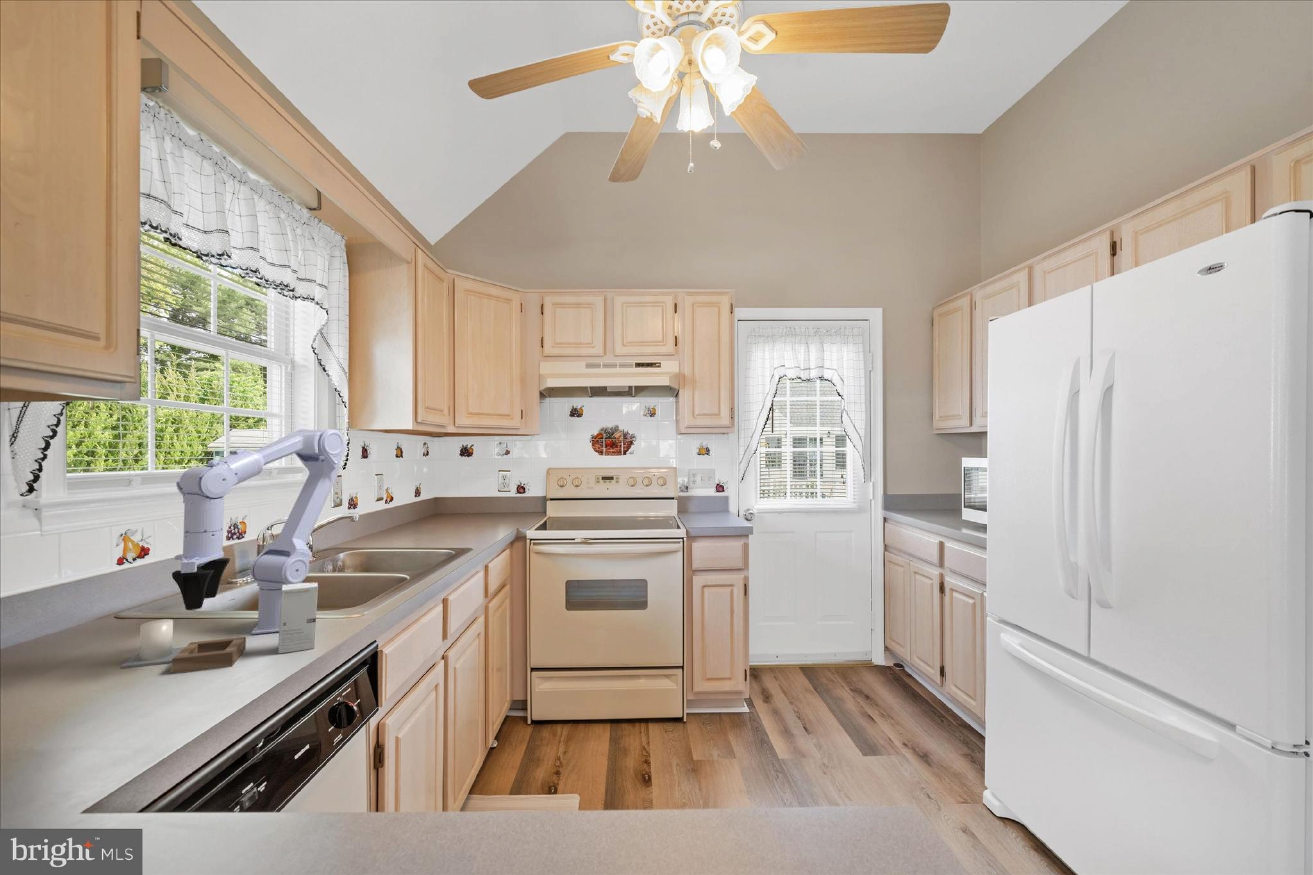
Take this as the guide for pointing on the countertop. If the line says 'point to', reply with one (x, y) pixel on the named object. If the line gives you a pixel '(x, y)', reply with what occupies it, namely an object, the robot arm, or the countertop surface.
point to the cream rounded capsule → (156, 639)
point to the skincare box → (297, 617)
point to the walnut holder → (209, 654)
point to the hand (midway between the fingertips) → (201, 603)
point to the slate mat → (136, 662)
